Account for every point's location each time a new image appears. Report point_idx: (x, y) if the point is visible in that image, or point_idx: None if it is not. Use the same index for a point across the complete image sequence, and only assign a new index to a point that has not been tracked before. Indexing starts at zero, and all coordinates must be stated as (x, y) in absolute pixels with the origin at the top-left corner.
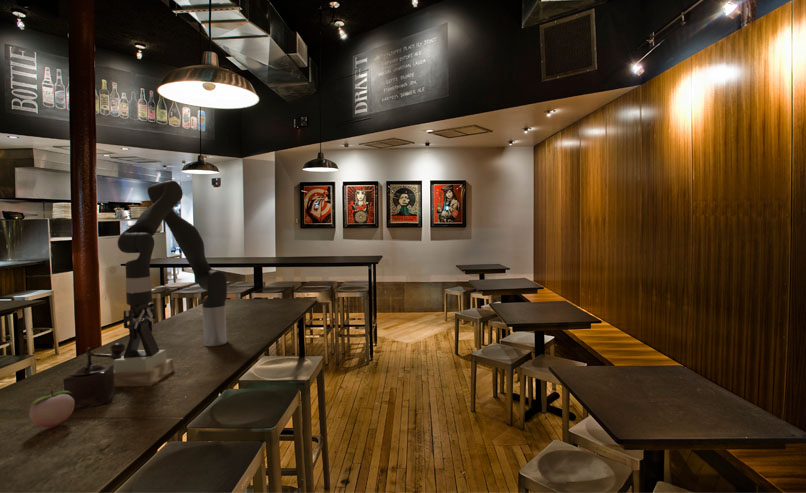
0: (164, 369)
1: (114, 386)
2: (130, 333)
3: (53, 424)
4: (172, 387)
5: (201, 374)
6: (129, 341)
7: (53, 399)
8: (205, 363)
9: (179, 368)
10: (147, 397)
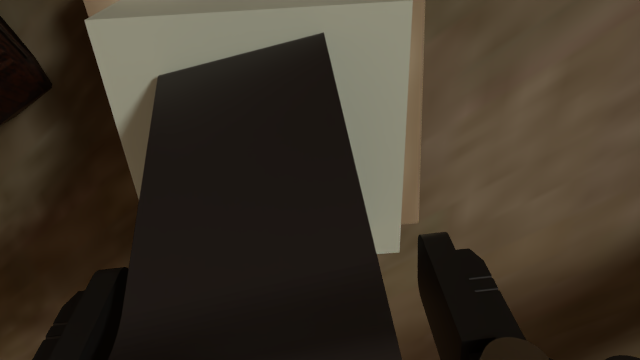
0: None
1: (33, 99)
2: (48, 356)
3: None
4: None
5: None
6: (144, 208)
7: None
8: (499, 268)
9: (434, 191)
10: (62, 274)
